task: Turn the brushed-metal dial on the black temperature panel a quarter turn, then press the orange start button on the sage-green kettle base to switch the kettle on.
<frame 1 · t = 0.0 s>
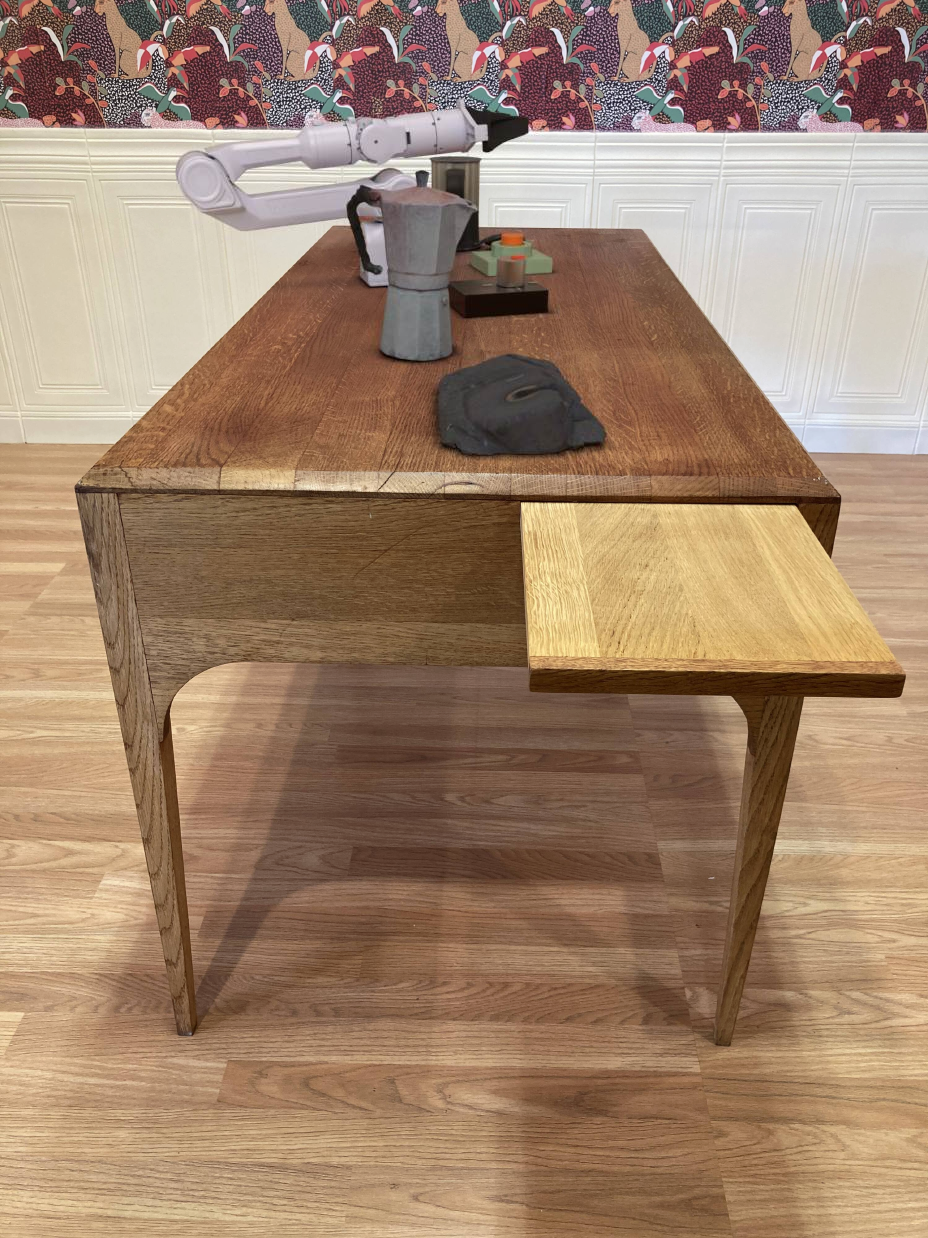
hand: (518, 123, 144), 22 cm above the table, tool horizontal, fingers open, 7 cm apart
slotted grey rock: (513, 417, 96), on the table
start button: (512, 240, 157), point 4 cm above the table, slide at 0.1 cm
temp dial: (510, 269, 133), point 5 cm above the table, hinge at 0.0°
temp panel: (496, 307, 136), on the table
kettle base: (511, 268, 159), on the table
cupcake: (381, 246, 176), on the table
milk frother: (476, 249, 174), on the table
moka pot: (412, 353, 116), on the table
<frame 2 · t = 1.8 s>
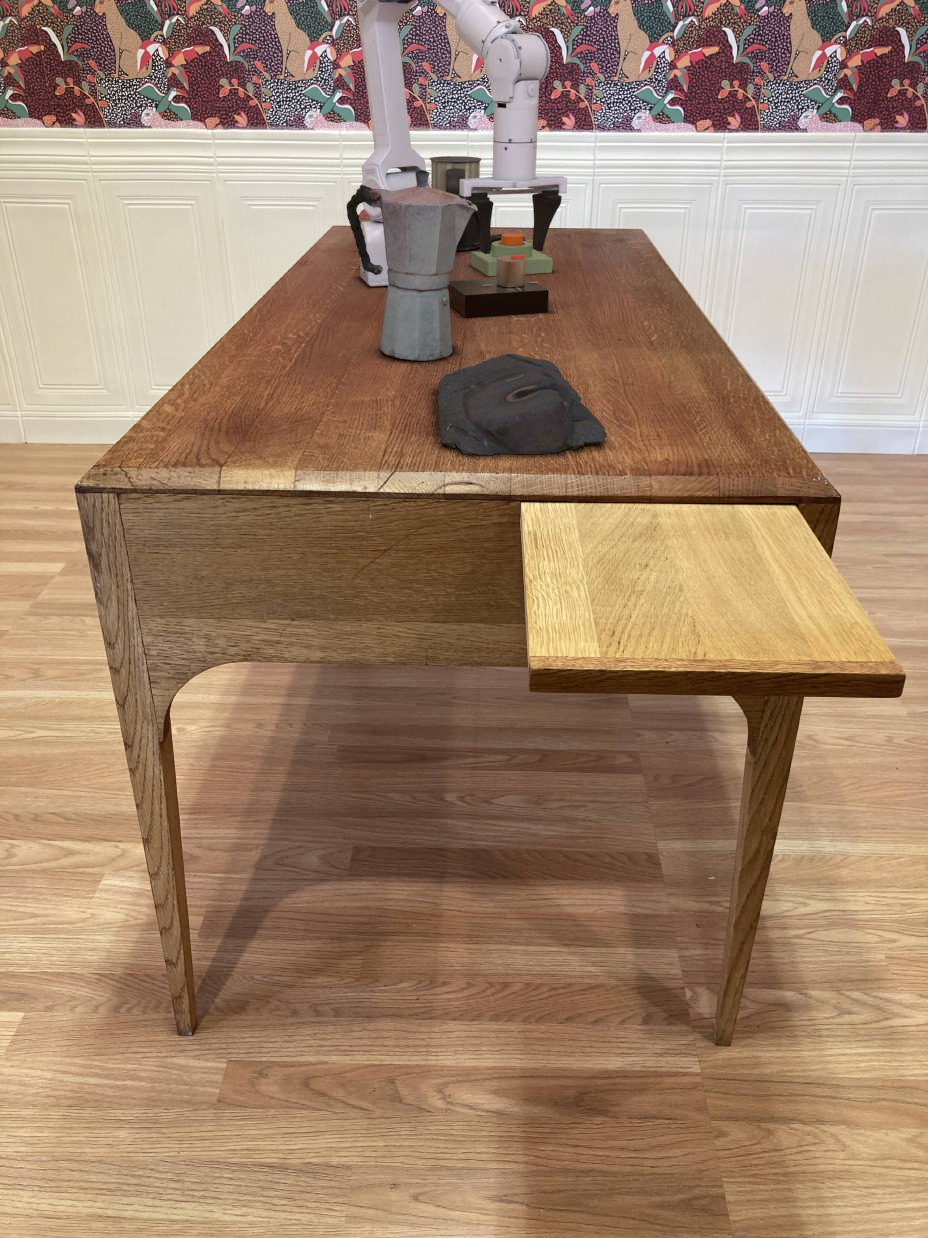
hand: (511, 251, 132), 7 cm above the table, tool pointing down, fingers open, 7 cm apart
nothing on the table moved.
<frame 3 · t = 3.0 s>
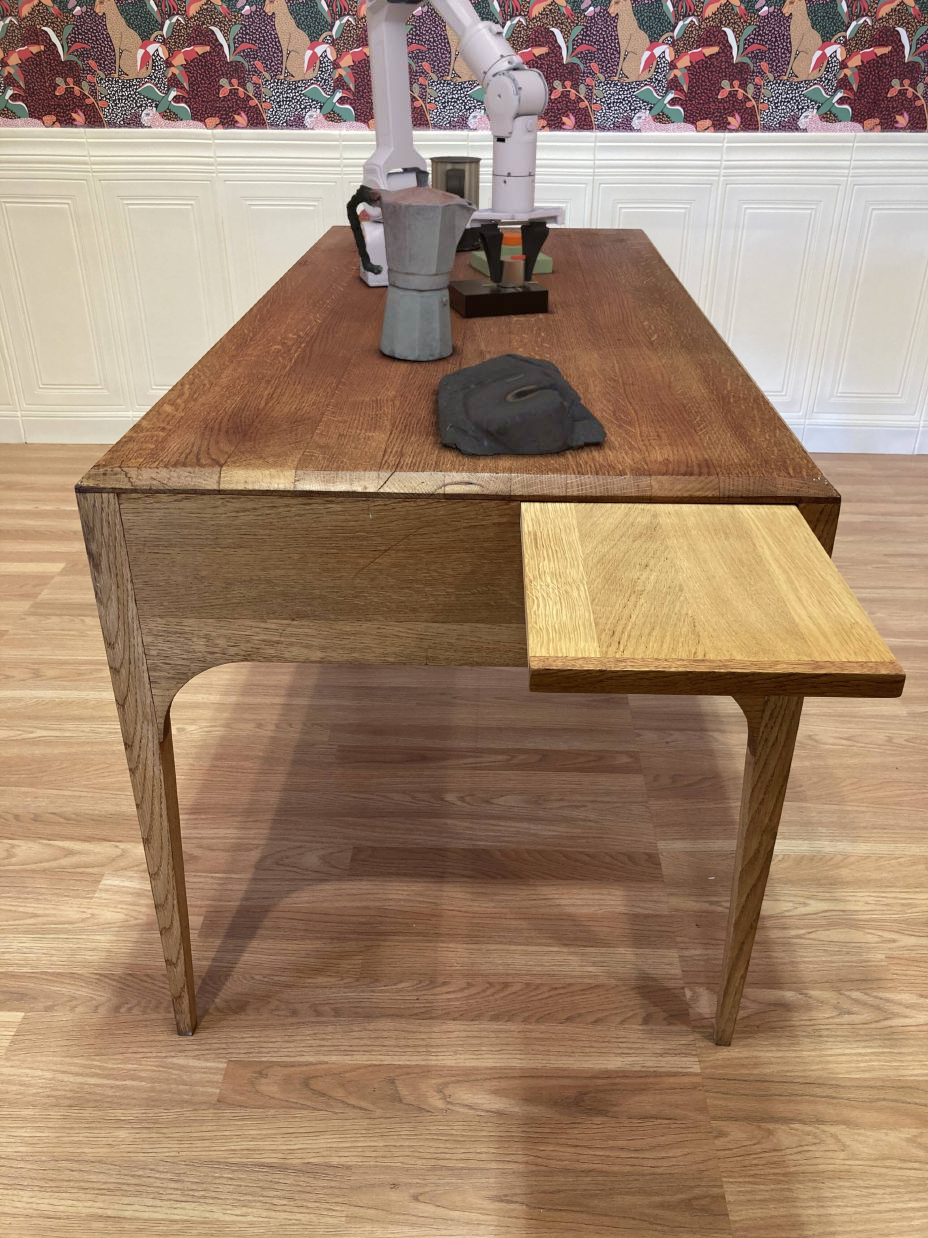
hand: (510, 280, 134), 4 cm above the table, tool pointing down, fingers closed on temp dial, 4 cm apart
temp dial: (510, 269, 133), point 5 cm above the table, hinge at -0.2°, touching gripper
everything else where it was.
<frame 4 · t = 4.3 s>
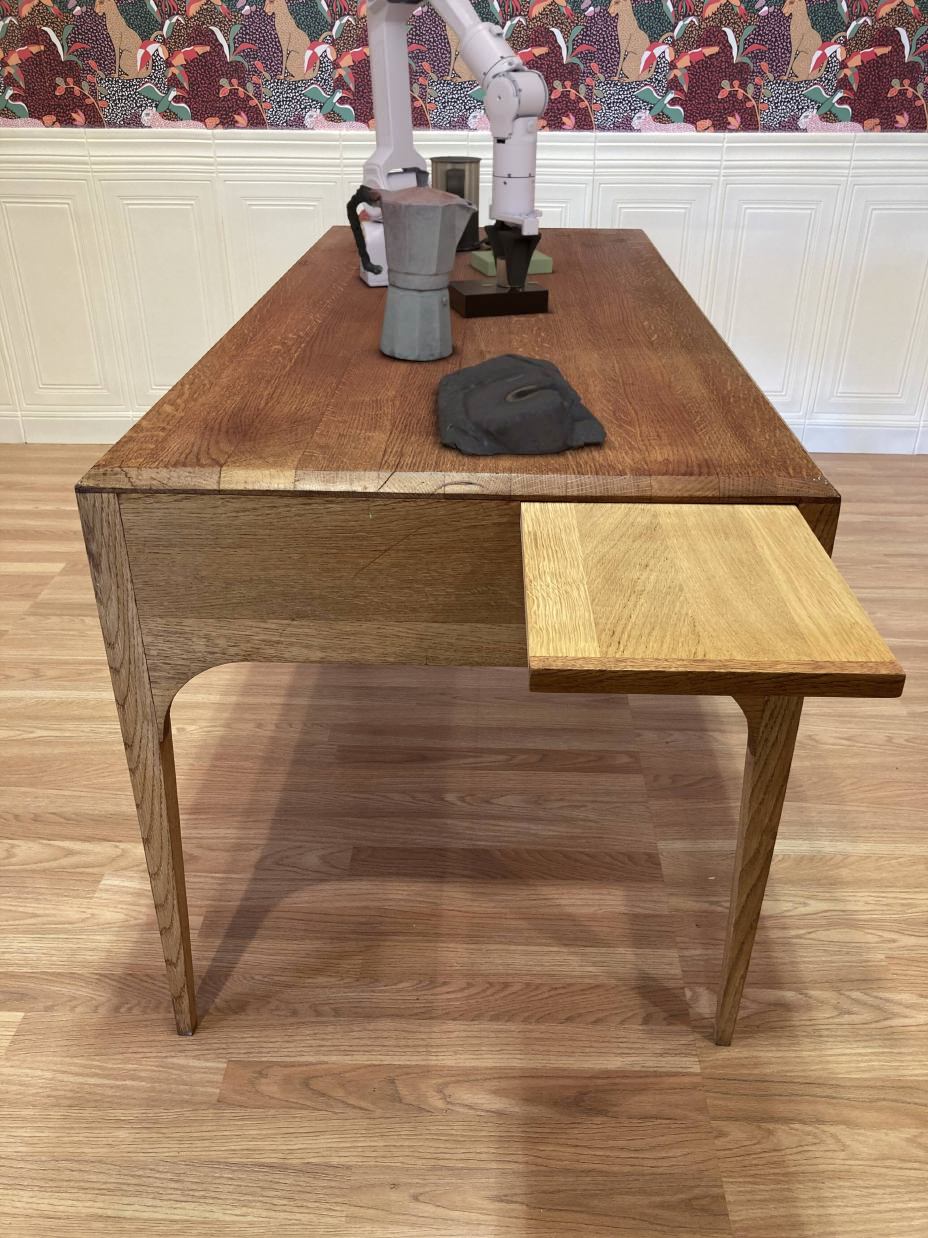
hand: (510, 281, 134), 3 cm above the table, tool pointing down, fingers closed on temp dial, 4 cm apart
temp dial: (510, 269, 133), point 5 cm above the table, hinge at 90.1°, touching gripper
everything else where it was.
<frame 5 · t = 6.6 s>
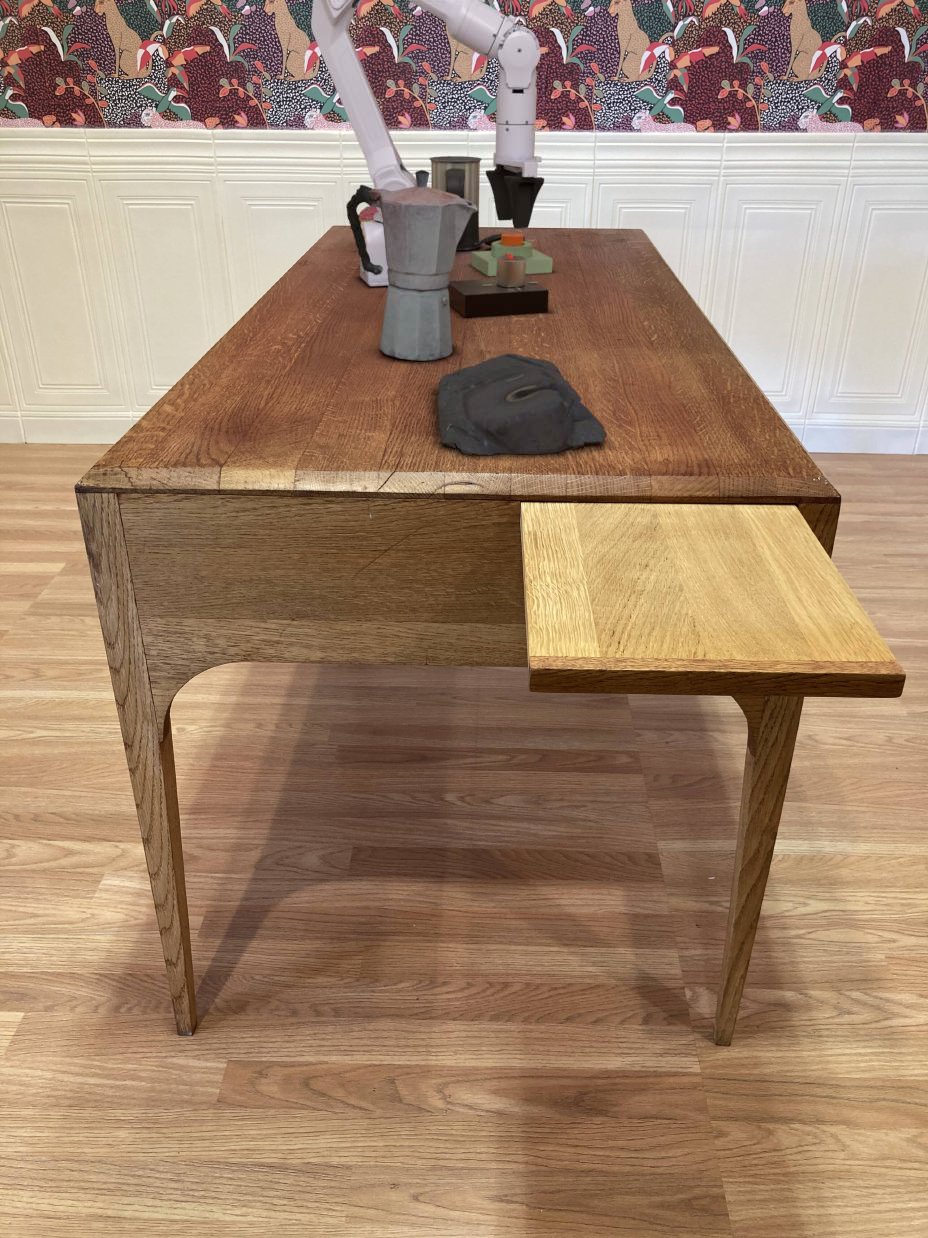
hand: (512, 223, 146), 8 cm above the table, tool pointing down, fingers open, 7 cm apart
temp dial: (510, 269, 133), point 5 cm above the table, hinge at 90.3°
everything else where it was.
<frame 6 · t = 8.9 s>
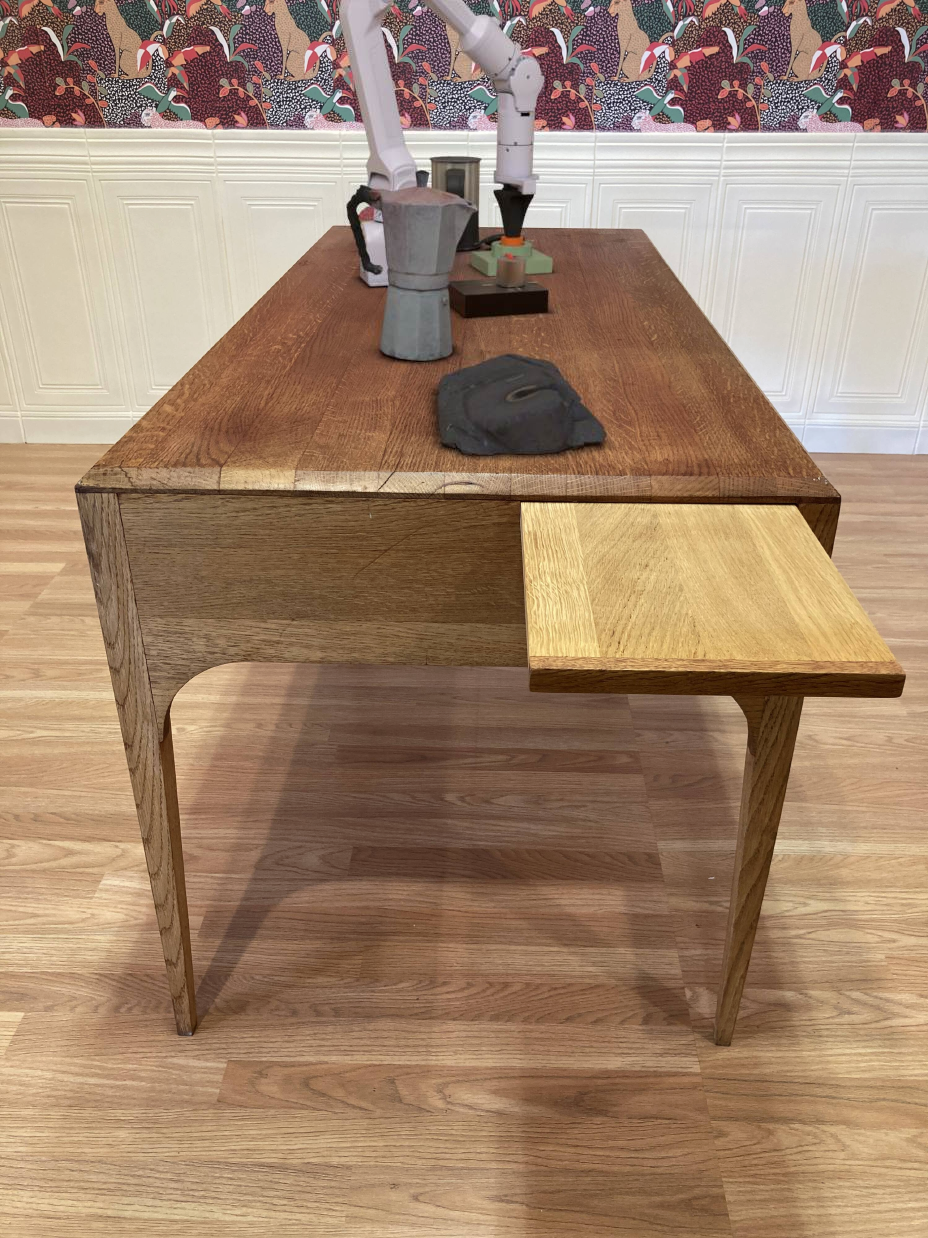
hand: (512, 236, 156), 5 cm above the table, tool pointing down, fingers closed, pressing on start button
start button: (512, 242, 157), point 4 cm above the table, slide at -0.2 cm, touching gripper
everything else where it was.
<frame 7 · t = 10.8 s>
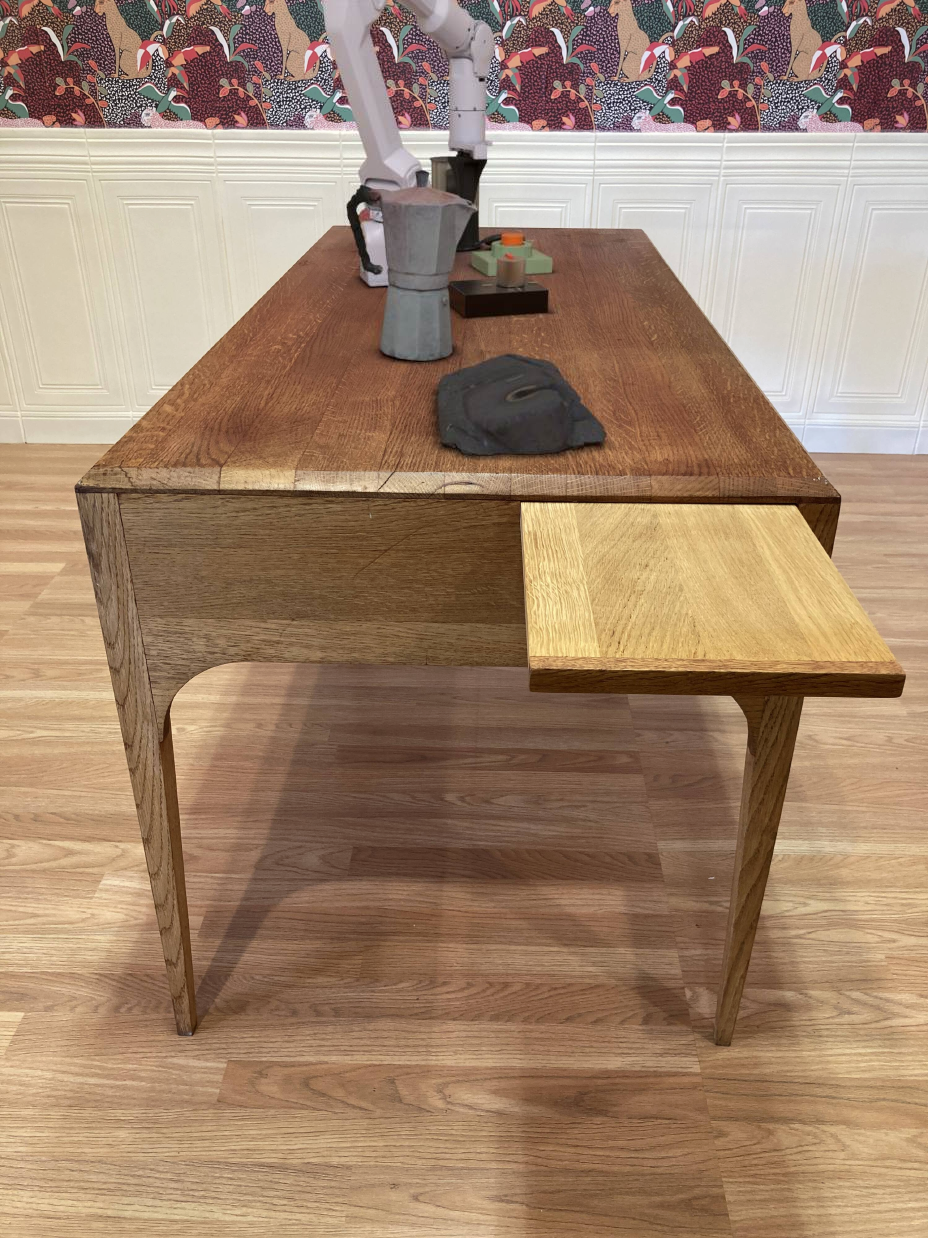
hand: (466, 203, 157), 9 cm above the table, tool pointing down, fingers closed
start button: (512, 240, 157), point 4 cm above the table, slide at 0.1 cm
everything else where it was.
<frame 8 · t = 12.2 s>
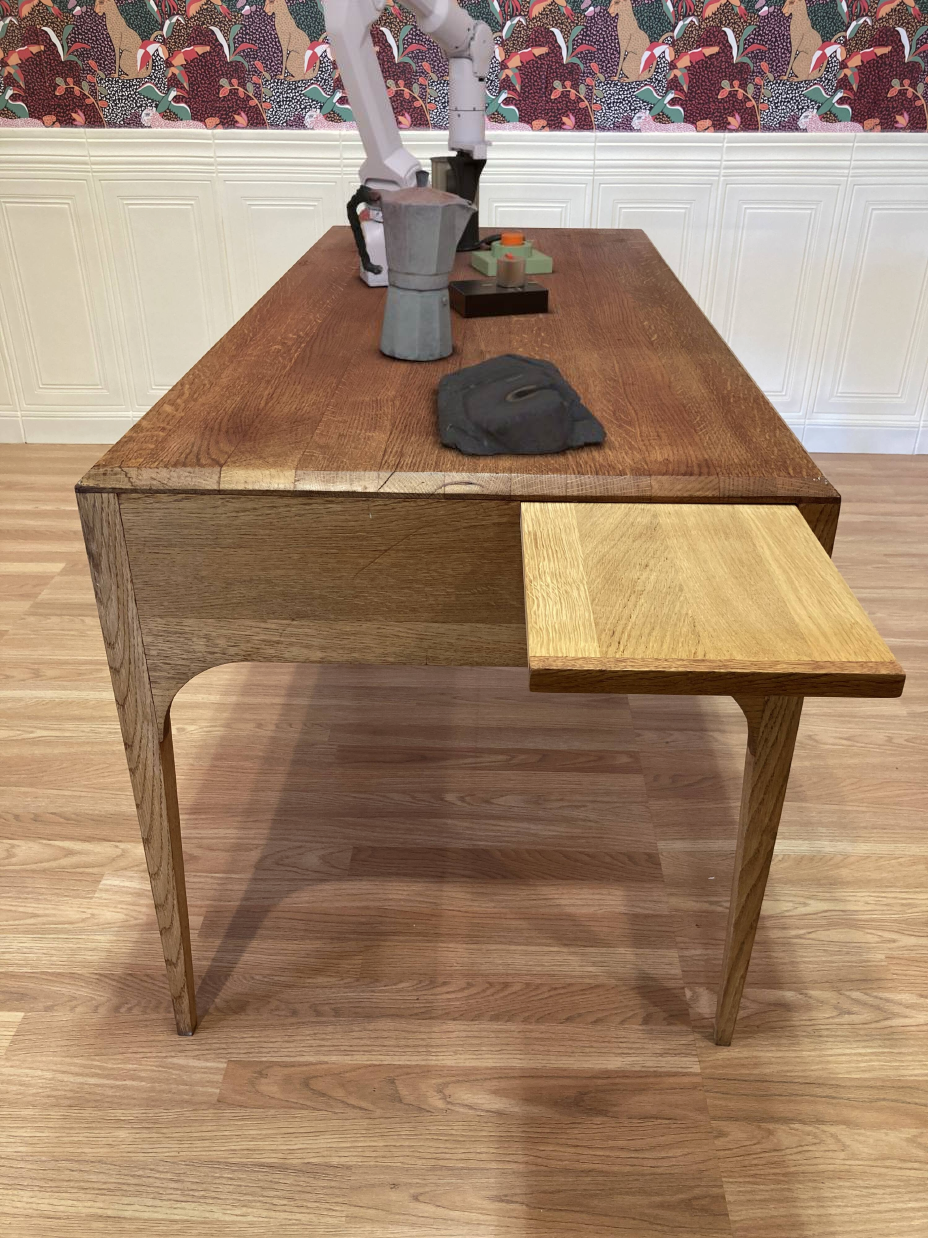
hand: (466, 203, 157), 9 cm above the table, tool pointing down, fingers closed
nothing on the table moved.
at the end: temp dial at +90° (first picture: +0°); start button pushed in 1.2 cm at the most during the clip, back to where it started at the end; start button slide at 0.1 cm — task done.
